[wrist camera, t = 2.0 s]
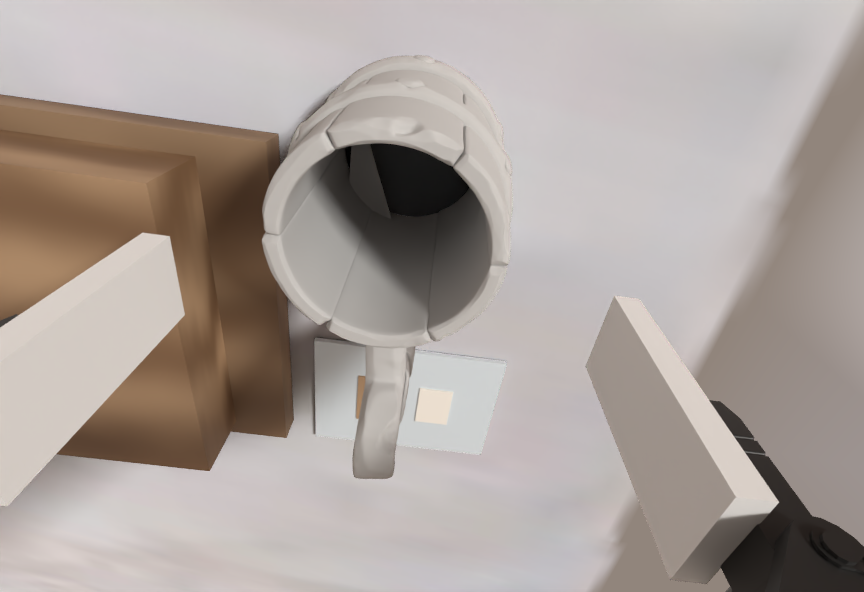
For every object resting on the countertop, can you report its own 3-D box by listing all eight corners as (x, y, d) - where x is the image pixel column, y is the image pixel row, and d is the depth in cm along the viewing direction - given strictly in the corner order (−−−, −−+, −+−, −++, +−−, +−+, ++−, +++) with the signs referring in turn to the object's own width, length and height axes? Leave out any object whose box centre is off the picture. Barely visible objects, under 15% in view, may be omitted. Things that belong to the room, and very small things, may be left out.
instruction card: (315, 337, 25) (313, 341, 25) (506, 361, 26) (507, 365, 25) (316, 432, 29) (315, 437, 29) (480, 451, 30) (480, 456, 30)
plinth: (-154, 72, 19) (-333, 89, 14) (278, 133, 19) (229, 166, 15) (8, 386, 28) (-70, 451, 24) (293, 419, 29) (266, 488, 25)
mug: (514, 60, 17) (604, 119, 7) (476, 308, 24) (496, 525, 14) (321, 43, 17) (140, 79, 7) (334, 296, 24) (247, 506, 14)
